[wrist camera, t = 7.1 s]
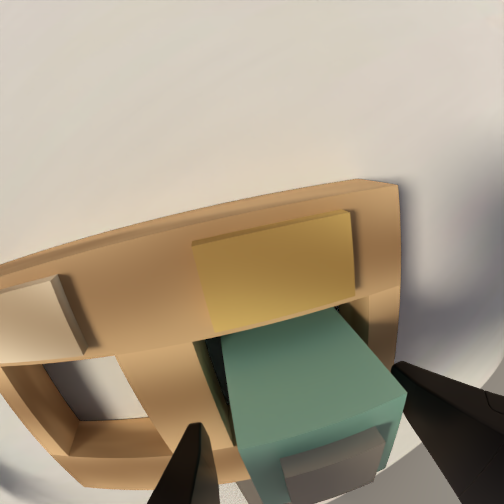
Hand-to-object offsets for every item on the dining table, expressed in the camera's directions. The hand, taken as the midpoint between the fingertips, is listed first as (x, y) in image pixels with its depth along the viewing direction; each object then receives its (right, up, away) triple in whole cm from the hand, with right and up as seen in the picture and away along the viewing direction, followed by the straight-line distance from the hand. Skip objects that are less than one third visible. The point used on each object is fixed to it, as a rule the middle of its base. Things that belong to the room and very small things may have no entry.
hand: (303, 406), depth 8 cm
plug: (-1, +1, +3) cm, 4 cm away
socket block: (-4, 0, +3) cm, 5 cm away
